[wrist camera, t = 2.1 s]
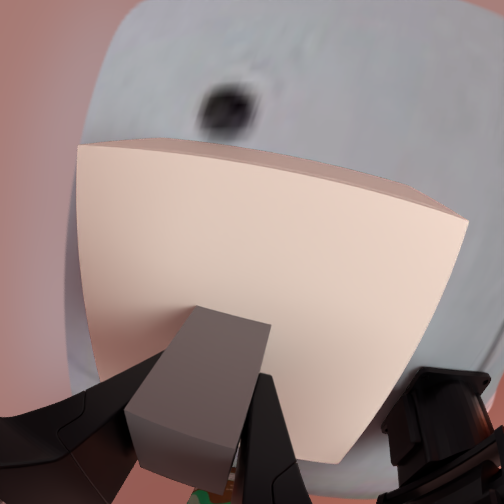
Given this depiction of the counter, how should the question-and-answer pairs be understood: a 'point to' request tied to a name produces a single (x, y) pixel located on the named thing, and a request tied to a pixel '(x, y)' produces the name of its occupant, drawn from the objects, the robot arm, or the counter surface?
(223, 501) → the food container
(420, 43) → the counter surface
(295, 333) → the lid
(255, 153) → the carton
